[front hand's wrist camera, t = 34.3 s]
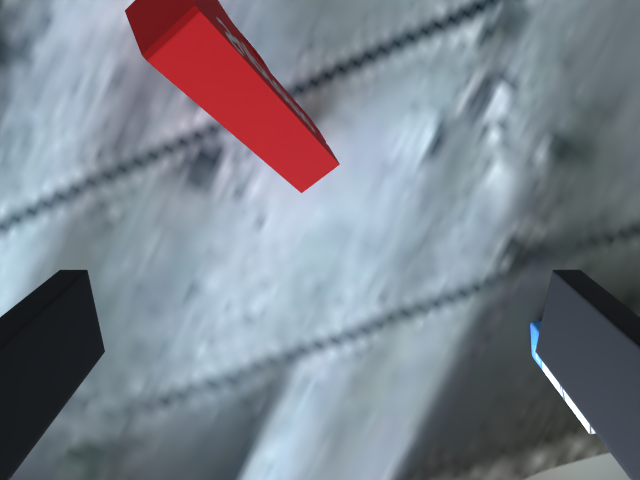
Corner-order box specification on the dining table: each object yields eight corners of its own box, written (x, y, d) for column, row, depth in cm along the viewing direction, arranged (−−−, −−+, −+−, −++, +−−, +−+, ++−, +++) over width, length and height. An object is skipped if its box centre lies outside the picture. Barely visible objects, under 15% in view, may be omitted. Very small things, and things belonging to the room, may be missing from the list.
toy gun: (107, -51, 33) (136, 51, 25) (147, -92, 32) (190, 0, 24) (254, 98, 48) (303, 194, 39) (284, 73, 47) (340, 166, 38)
